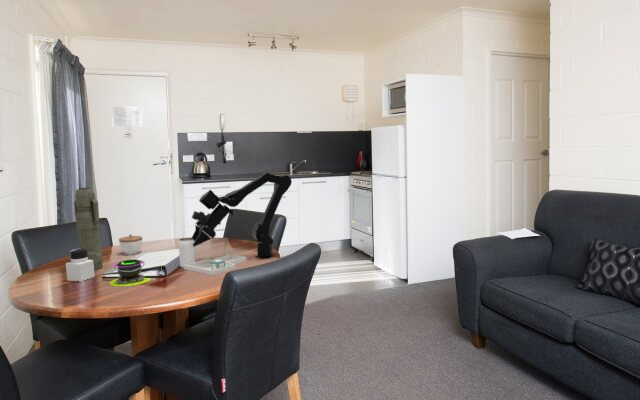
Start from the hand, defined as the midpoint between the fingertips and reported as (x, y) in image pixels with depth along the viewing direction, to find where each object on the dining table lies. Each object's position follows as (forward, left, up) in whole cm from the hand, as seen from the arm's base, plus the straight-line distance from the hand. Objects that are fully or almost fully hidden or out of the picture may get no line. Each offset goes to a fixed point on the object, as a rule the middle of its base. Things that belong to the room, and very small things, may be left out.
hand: (192, 243), depth 202 cm
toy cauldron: (+28, -3, -10) cm, 30 cm away
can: (+2, -1, -10) cm, 10 cm away
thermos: (+26, -36, -10) cm, 46 cm away
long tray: (+1, +12, -10) cm, 15 cm away
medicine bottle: (+37, -23, -10) cm, 45 cm away
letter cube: (+1, +17, -9) cm, 20 cm away
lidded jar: (0, -48, -10) cm, 49 cm away
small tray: (-11, +11, -10) cm, 18 cm away
